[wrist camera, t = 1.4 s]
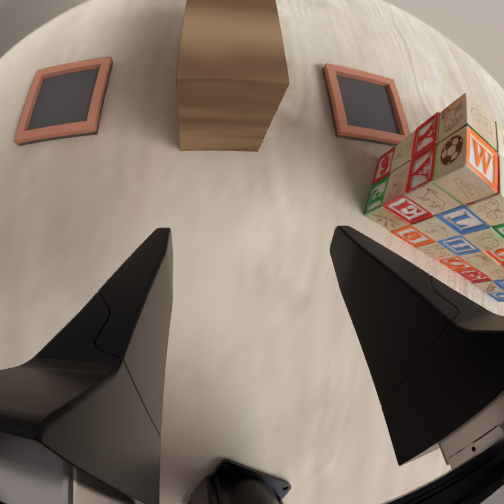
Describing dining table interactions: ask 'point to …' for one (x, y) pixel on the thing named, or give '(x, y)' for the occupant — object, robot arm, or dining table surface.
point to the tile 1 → (65, 101)
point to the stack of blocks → (448, 192)
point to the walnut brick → (229, 74)
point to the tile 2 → (365, 106)
